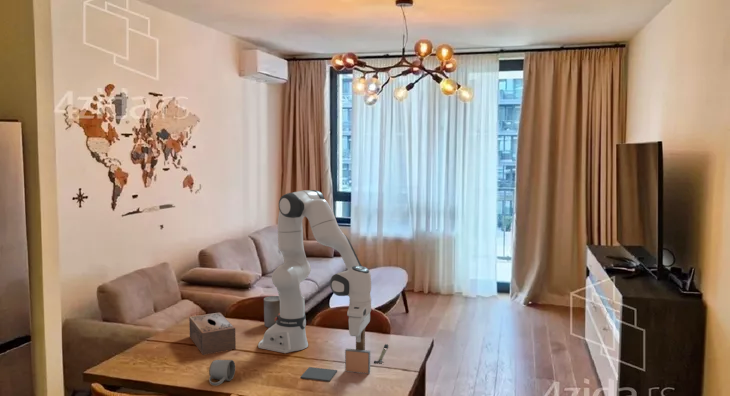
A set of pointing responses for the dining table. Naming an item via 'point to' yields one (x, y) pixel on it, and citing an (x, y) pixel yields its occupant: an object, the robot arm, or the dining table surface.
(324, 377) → the mat
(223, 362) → the ceramic mug
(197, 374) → the dining table surface
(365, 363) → the tile
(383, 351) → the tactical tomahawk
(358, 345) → the wooden block
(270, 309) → the pillar candle
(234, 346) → the tissue box cover
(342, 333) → the dining table surface
